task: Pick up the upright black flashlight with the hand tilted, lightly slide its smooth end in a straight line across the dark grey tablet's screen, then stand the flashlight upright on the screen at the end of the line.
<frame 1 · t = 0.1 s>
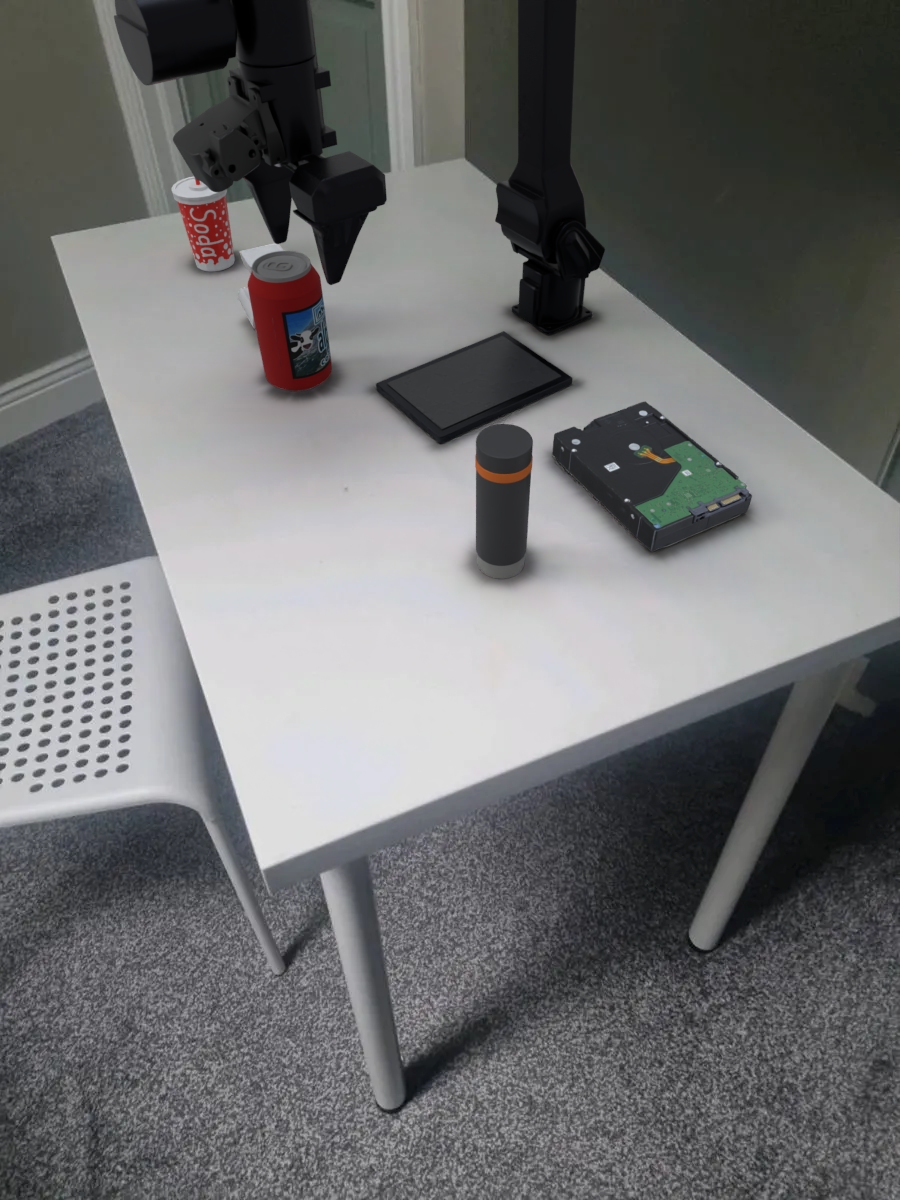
hand: (306, 262, 76), 15 cm above the table, tool pointing down, fingers open, 9 cm apart
tablet: (474, 387, 88), on the table
beverage can: (300, 379, 90), on the table
disk drive: (645, 486, 78), on the table
beverage cup: (215, 263, 108), on the table
stamp: (279, 328, 97), on the table
flashlight: (500, 562, 72), on the table
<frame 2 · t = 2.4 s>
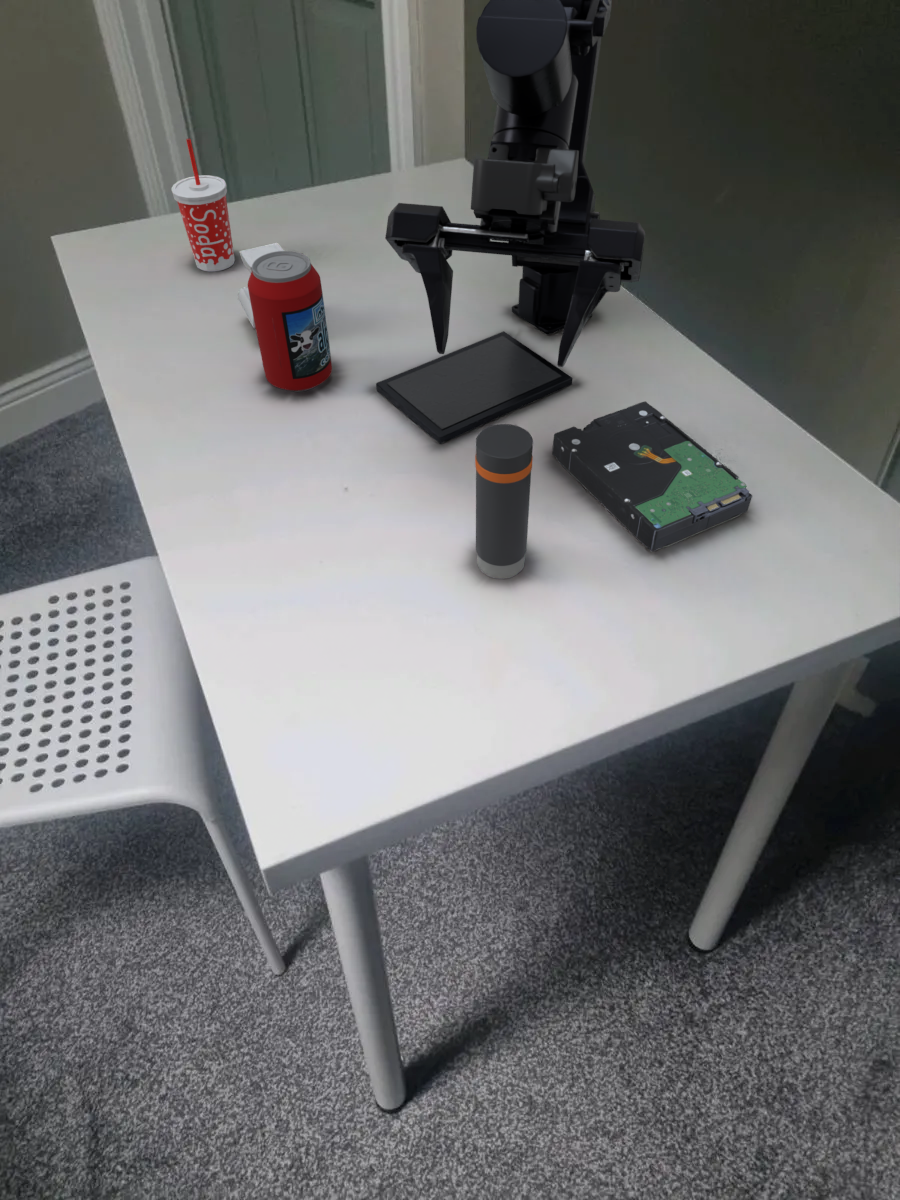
hand: (499, 359, 67), 13 cm above the table, tool tilted 40°, fingers open, 9 cm apart
nothing on the table moved.
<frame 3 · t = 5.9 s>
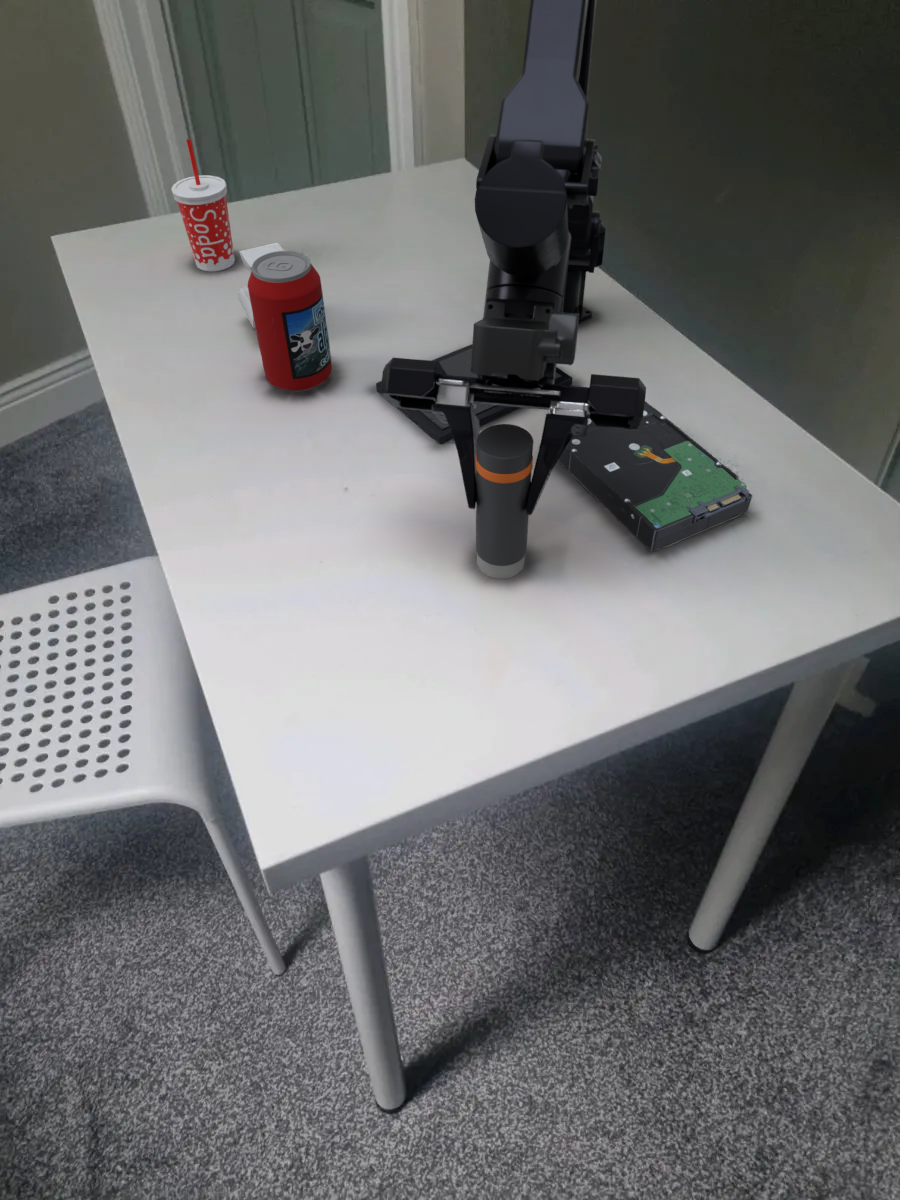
hand: (499, 511, 66), 7 cm above the table, tool tilted 45°, fingers closed on flashlight, 4 cm apart
flashlight: (500, 562, 72), on the table, touching gripper
everything else where it was.
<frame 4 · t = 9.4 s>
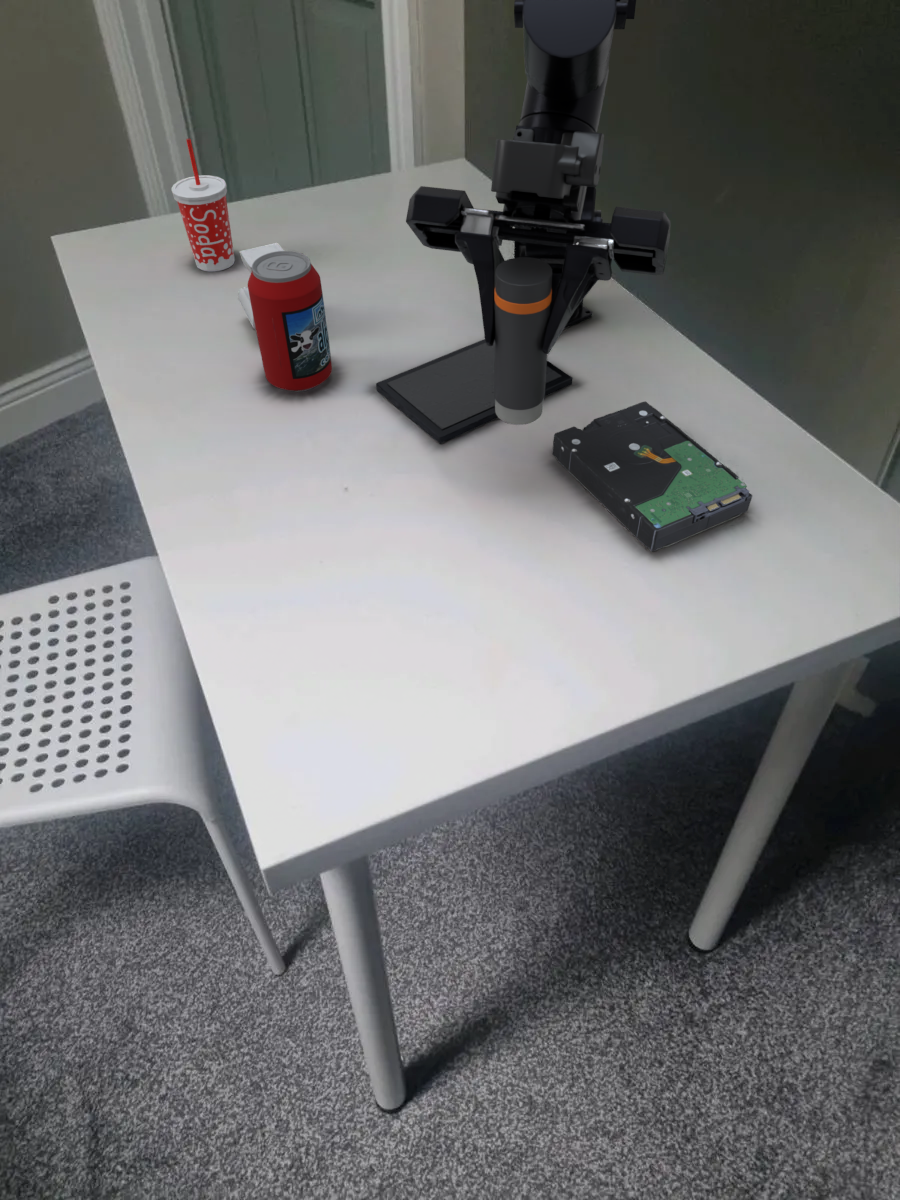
hand: (516, 348, 66), 15 cm above the table, tool tilted 45°, fingers closed on flashlight, 4 cm apart
flashlight: (518, 410, 72), point 8 cm above the table, touching gripper
everything else where it was.
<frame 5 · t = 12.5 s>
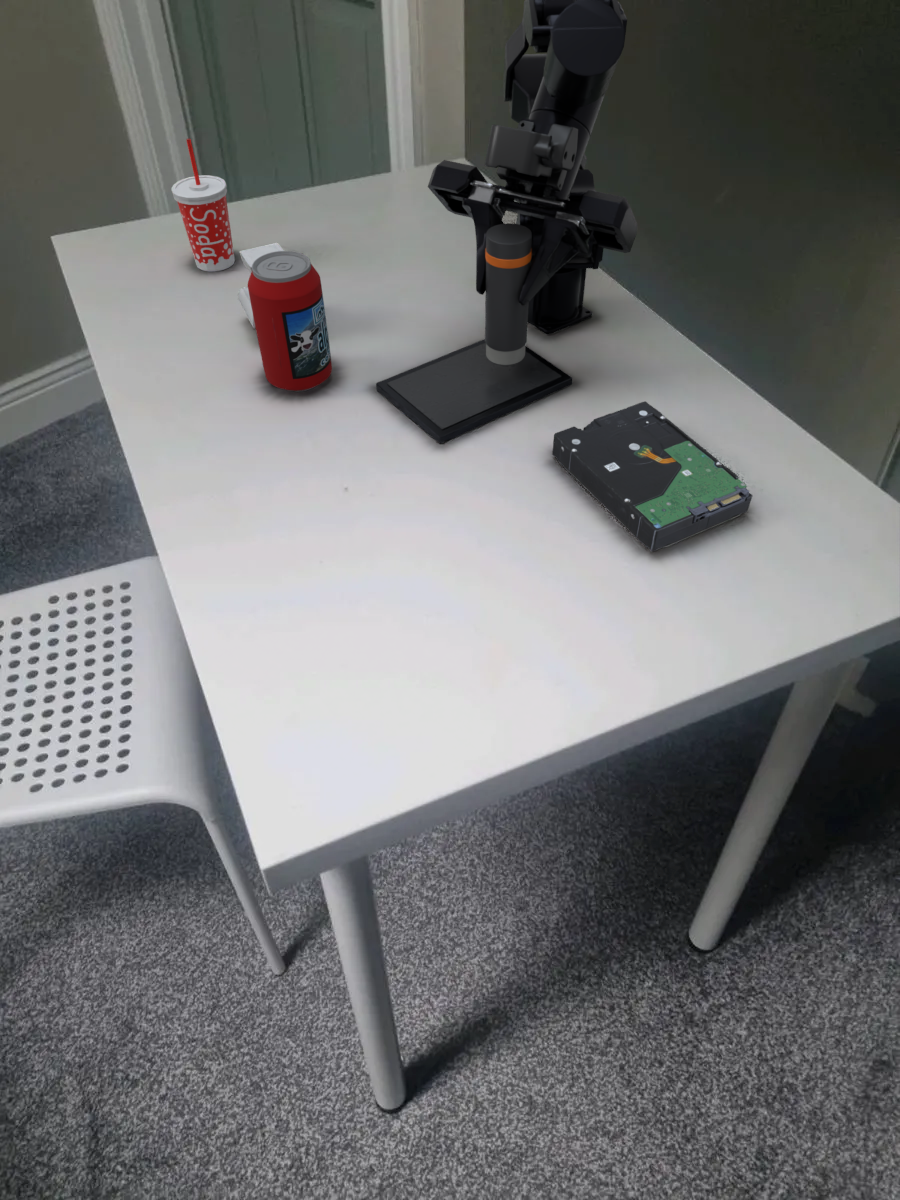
hand: (500, 298, 81), 10 cm above the table, tool tilted 45°, fingers closed on flashlight, 4 cm apart
flashlight: (505, 354, 87), point 3 cm above the table, touching gripper
everything else where it was.
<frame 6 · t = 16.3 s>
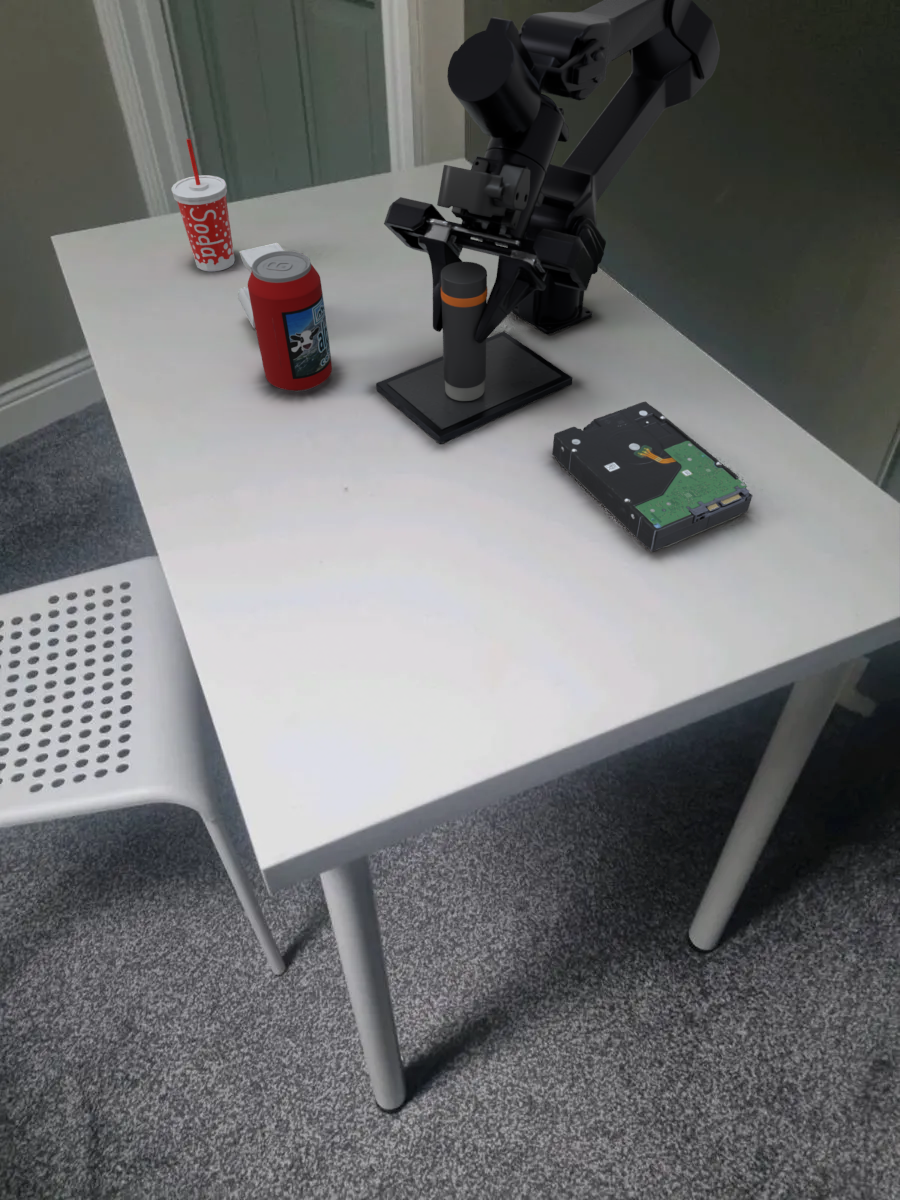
hand: (456, 336, 81), 8 cm above the table, tool tilted 45°, fingers closed on flashlight, 4 cm apart
flashlight: (464, 390, 86), point 1 cm above the table, touching gripper
everything else where it was.
when the fingers open (7 cm above the table, at t = 19.2 s): flashlight stays where it is, resting on tablet.
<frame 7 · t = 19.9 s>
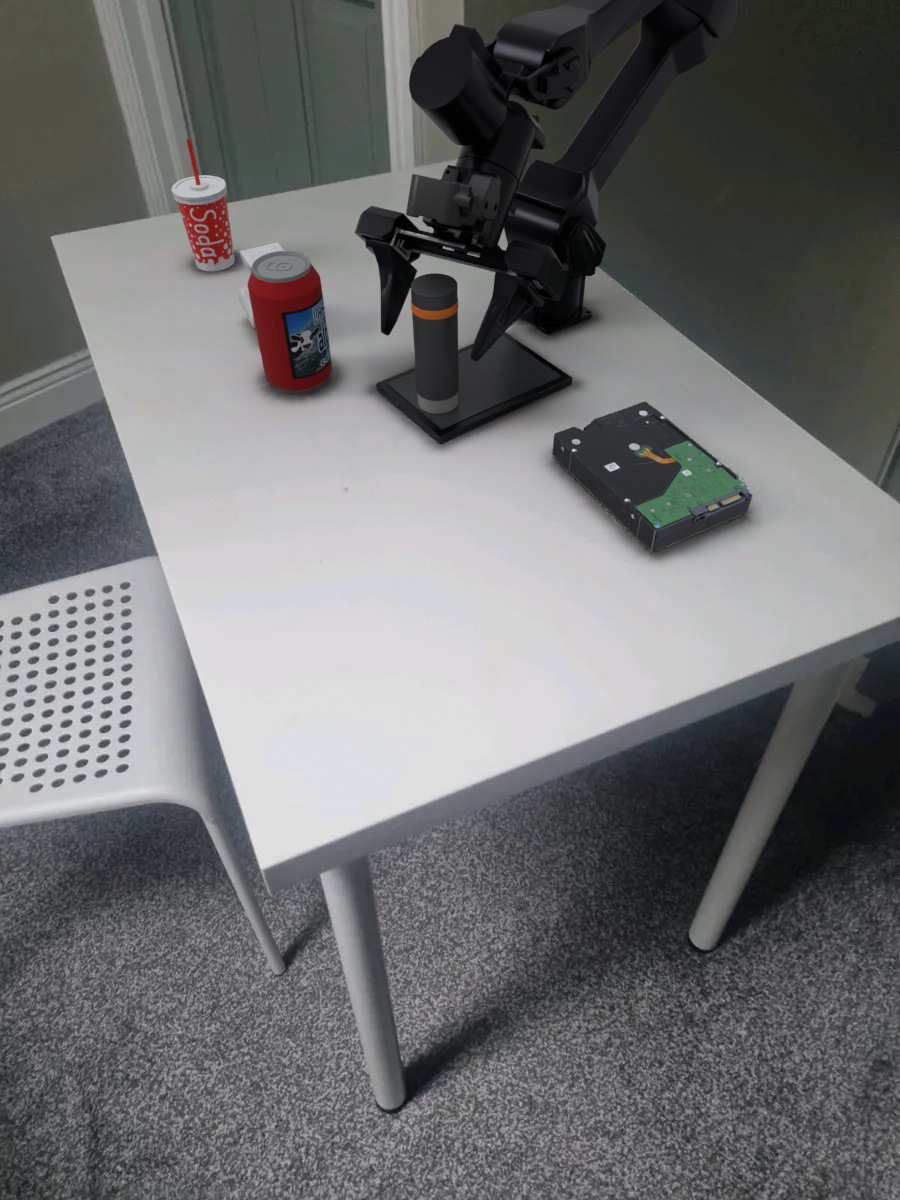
hand: (428, 346, 79), 8 cm above the table, tool tilted 45°, fingers open, 9 cm apart
flashlight: (438, 402, 85), point 1 cm above the table, touching tablet
everything else where it was.
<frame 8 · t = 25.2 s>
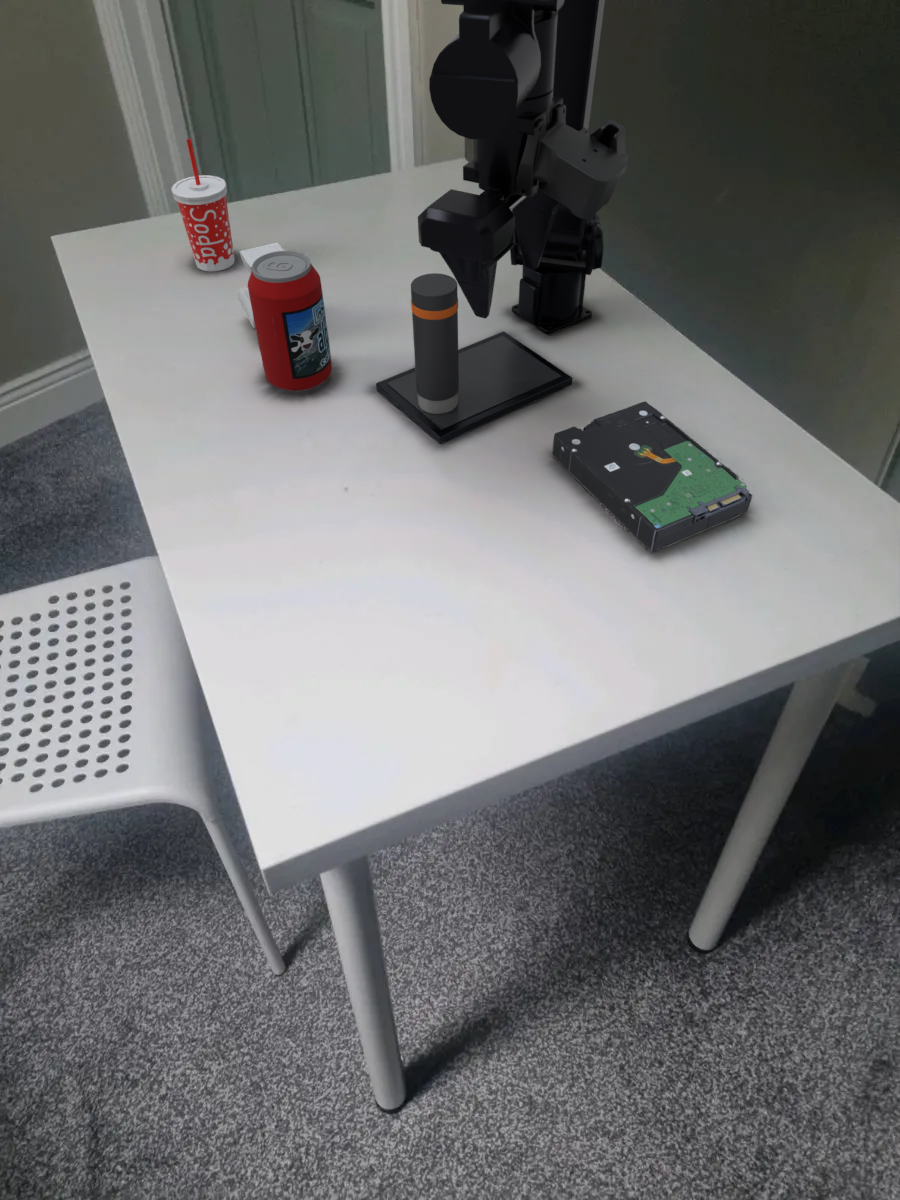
hand: (507, 291, 75), 13 cm above the table, tool pointing down, fingers open, 9 cm apart
nothing on the table moved.
at the end: flashlight 0.6 cm from the target spot on the tablet, point 0.9 cm above the tablet's base; flashlight tilted 0°; flashlight moved 21.5 cm from its start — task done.
